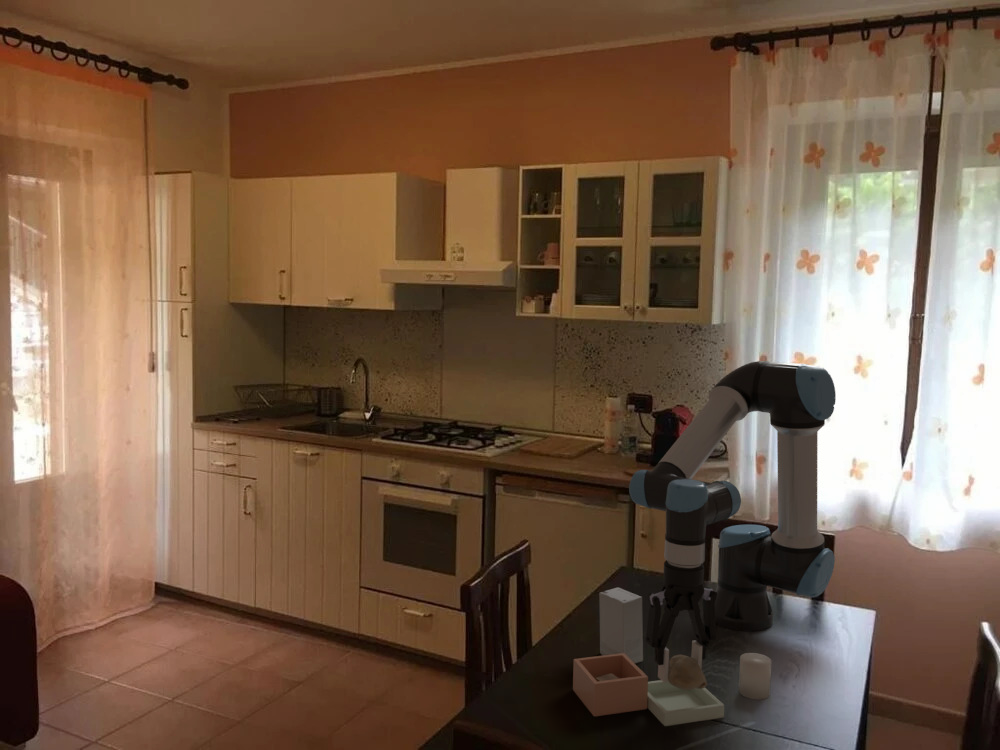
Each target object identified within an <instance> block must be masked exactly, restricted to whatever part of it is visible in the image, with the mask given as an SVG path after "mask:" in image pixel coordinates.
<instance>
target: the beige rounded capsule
mask: <svg viewBox="0 0 1000 750" xmlns="http://www.w3.org/2000/svg"><path fill="white" fill-rule="evenodd" d="M771 672H772V659H771V658H770V657H768V656H766V655H765V654H761V653H756V652H745V653H743V654H741V655H740V657H739V676H738V679H739V680H738V693H739V694H740V695H741V696H742V697H745V698H747V699H752V700H756V701H757V700H758V701H759V700H760V701H761V700H766V699H768V698H770V695H771V675H772V674H771Z"/></svg>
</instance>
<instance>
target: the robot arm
mask: <svg viewBox="0 0 1000 750" xmlns="http://www.w3.org/2000/svg"><path fill="white" fill-rule="evenodd" d="M835 405H836V388H835V384H834V380H833V378H832V376H831V374H830V373H829V371H828V370H827V369H825V368H824V367H821V366H819V365H810V364H808V363H796V362H795V363H794V362H792V363H791V362H779V361H777V362H776V361H768V360H767V361H766V360H758V361H752V362H750V363H746V364H743V365H741V366H739V367H737V368H735V369H734V370H732V371H730V372H729V373H728V374H726V375H725V376H723V378H721V379H720V380H719V381H718V382H717V383H716V384H714V387H713V388H712V389H711V390H710V391H709V393H708V400H707V402H706V404H704V406H703V407H702V408H701V409H700V411H699V412H698V413H697V415H696V416H695V417H694V418H693V420H692V421H690V423H689V424H688V425H687V427H686V428H685V429H684V430H683V432H682V433H681V434H680V435H679V437H678V438H677V439H676V440H675V442H674V443H673V444H672V445H671V447H670V448H669V449H668V450H667V451H666V453H665V454H664V455H663V457H661V459H660V460H659V462H657V464H656V465H655V466H654V467H653V469H651V470H650V469H640V470H637V471H635V472H634V473H633V475H632V477H631V478H630V482H629V484H628V485H629V488H628V491H629V495H630V499H631V500H632V502H634V504H636V505H639V506H640V507H641V506H642V507H645V508H648V509H650V510H651V509H653V510H657V511H662V512H665V535H664V538H665V539H664V554H663V555H664V559H665V561H664V562H663V577H662V578H663V586H662V588H661V591H659V592H657V593H653V592H650V593H648V595H647V598H648V604H649V609H648V610H649V611H648V619H647V626H646V633H645V642H646V643H647V644H648V645H649V646H650V647H651V648H653V649H654V661H655V663H656V664H657V665H658V666H657V667H658V669H657V678H658V679H659V680H662V681H663V682H664V683H668V677H669V661H670V649H669V648H668V647H667V645H668V644H667V643H668V641H669V639H670V635H671V634H672V633H671V632H672V630H673V626H674V625H675V621H676V618H677V617H678V616H679V615H680V612H682V611H685V610H686V611H687V612H688V615H689V619H690V622H691V625H692V630H693V633H694V636H695V639H696V640H692V641H691V656H690V657H692V658H693V659H694V660H695V661H696V662H697V663H698V665H699V666H700V668H701V670H702V668H703V667H702V666H703V665H702V664H703V663H702V662H703V660H706V657H707V656H706V653H707V647H709V646H710V642H711V641H713V642H714V641H715V640H716V639H717V630H716V629H717V625H719V626H721V627H724V628H726V629H731V630H735V631H736V630H737V631H742V632H744V631H745V632H755V631H764V630H766V629H768V628H770V627H771V626H772V625H773V621H774V618H773V617H774V613H773V609H772V605H771V602H770V598H769V595H768V591H767V589H768V588H767V587H770V588H774V589H777V590H781V591H785V592H788V593H792V594H795V595H796V596H804V597H807V598H817V597H819V596H821V595H822V594H823V593H824V591H825V590H826V589H827V588H828V585H829V584H830V581H831V579H832V576H833V574H834V573H833V572H834V567H835V561H836V560H835V554H834V551H832V550H831V549H830V548H828V547H827V548H825V537H824V535H823V534H822V533H821V532H819V530H818V432H819V431H820V430H821V428H823V427H825V425H826V421H825V420H829V419H830V418H831V416H832V415H833V413H834V411H835ZM752 412H761V413H766V414H767V413H768V414H769V418H770V419H769V422H770V423H769V424H770V425H771V426H772V427H773V428H774V429H775V430H776V435H777V436H776V439H777V440H776V441H777V442H776V443H777V447H776V448H777V451H776V452H777V529H775V531H773V532H772V533H771V531H770V528H769V527H767V526H764V525H761V524H738V525H737V524H736V525H731V526H728V527H724V528H723V529H722V530H721V531H720V534H719V540H718V545H717V546H718V558H717V559H718V561H717V562H718V563H717V586H716V589H715V590H714V589H713V588H711V587H706V588H705V587H704V586H703V584H704V581H705V565H704V562H705V561H706V534H707V532H706V530H707V526H710V525H712V524H716V523H719V522H722V521H726V520H728V519H729V518H731V517H733V516H734V515H736V514H737V513H738V511H739V510H740V508H741V505H742V498H741V494H740V491H739V489H738V488H737V487H736V486H735V484H734V483H732V482H730V481H729V480H728V481H727V480H715V481H712V482H707V481H702V480H697V479H693V478H694V477H695V475H696V474H697V472H698V471H699V470H700V468H701V467H702V466H703V465H704V464H705V462H706V461H707V460H708V458H709V457H710V456H711V455H712V453H713V452H714V450H715V449H716V448H717V447H718V445H719V444H720V443H721V441H722V440H723V438H725V436H726V435H727V434H728V432H729V431H730V429H731V428H732V427H733V426H734V425H735V424H736V422H739V421H742V420H743V419H744V418H746V416H747V415H748V414H749V413H752ZM701 598H702V609H703V610H702V611H703V616H701V609H700V605H699V601H701V600H700V599H701ZM664 599H665V605H664V603H663V601H664ZM662 605H664V607H663V608H664V609H663V610H664V612H663V616H662V617H661V615H662ZM702 617H703V620H702ZM716 624H717V625H716ZM702 671H703V670H702Z"/></svg>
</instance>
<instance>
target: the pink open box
mask: <svg viewBox="0 0 1000 750" xmlns="http://www.w3.org/2000/svg"><path fill="white" fill-rule="evenodd" d="M636 664H637V663H634V662H633V661H632V660H631V659H630V658H629V657H628V656H627V655H626V654H625V653H620V654H612V655H598V656H597V655H596V656H589V657H581V658H574V659H573V668H572V671H573V672H572V673H573V674H572V675H573V676H572V691H573V692H574V693H575V694H576V696H577V697H578V698H579V700H580V701H581V702H582V704H583V705H584V706H585V708H586V709H588V711H589V712H590V713H591V714H592V716H593V717H595V718H596V717H600V716H609V715H613V714H623V713H628V712H635V711H645V710H647V709H648V708H647V696H648V682H649V676H648V675H646V673H645V672H644V671H643V670H642V669H640V667H639V666H638V665H636ZM610 673H612V674H613V675H615V676H617V677H618V678H620V679H614V680H606V681H598V682H597V681H596V680H595V678H597V677H600V676H603V675H607V674H610Z"/></svg>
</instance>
